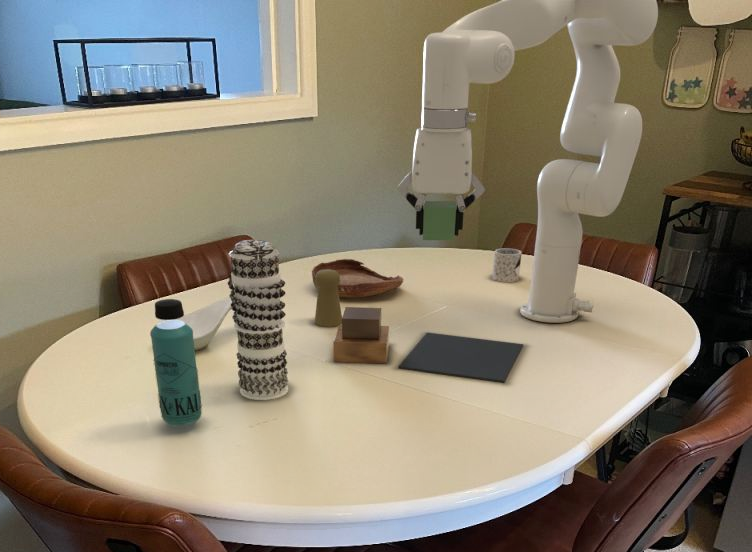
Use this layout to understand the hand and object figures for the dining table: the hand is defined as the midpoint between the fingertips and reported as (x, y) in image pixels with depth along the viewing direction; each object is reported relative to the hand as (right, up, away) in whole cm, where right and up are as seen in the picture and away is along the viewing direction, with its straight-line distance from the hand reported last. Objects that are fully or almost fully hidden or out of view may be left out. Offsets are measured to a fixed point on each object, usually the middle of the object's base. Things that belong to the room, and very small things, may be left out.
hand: (438, 232), depth 137 cm
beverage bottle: (-42, -36, -14) cm, 57 cm away
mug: (+22, +10, +60) cm, 65 cm away
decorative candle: (-31, -29, -2) cm, 42 cm away
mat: (+6, -20, +12) cm, 24 cm away
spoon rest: (-44, -15, +20) cm, 50 cm away
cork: (-21, -9, +29) cm, 37 cm away
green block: (0, -1, 0) cm, 1 cm away
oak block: (-14, -19, +14) cm, 27 cm away
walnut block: (-14, -15, +11) cm, 24 cm away
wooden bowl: (-15, +4, +49) cm, 51 cm away
